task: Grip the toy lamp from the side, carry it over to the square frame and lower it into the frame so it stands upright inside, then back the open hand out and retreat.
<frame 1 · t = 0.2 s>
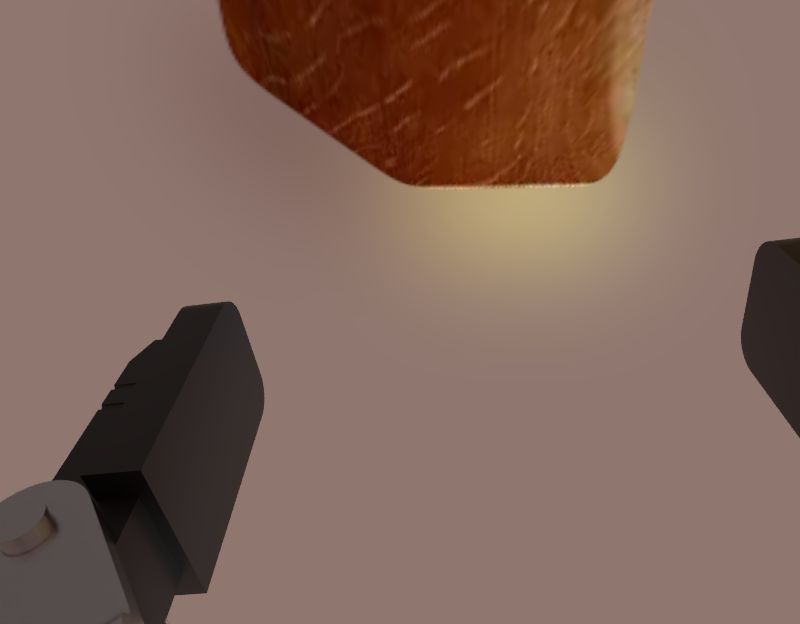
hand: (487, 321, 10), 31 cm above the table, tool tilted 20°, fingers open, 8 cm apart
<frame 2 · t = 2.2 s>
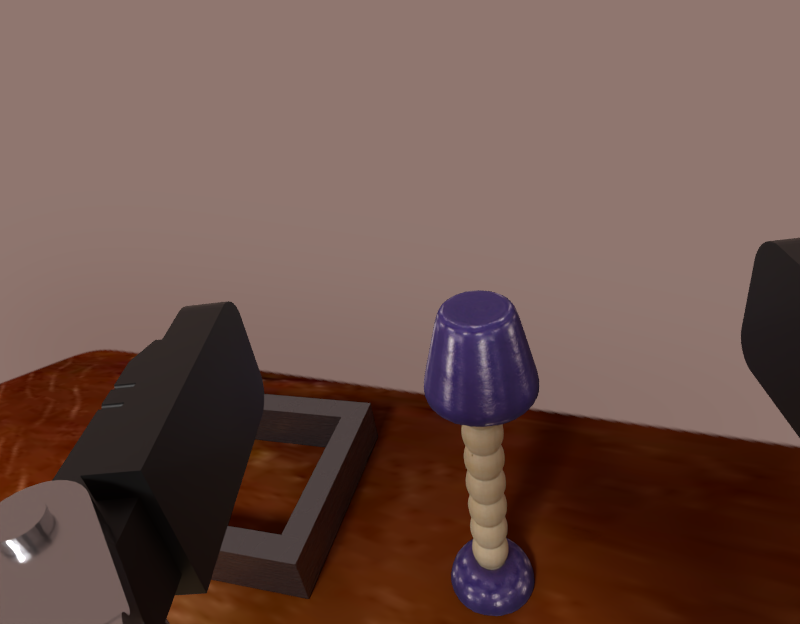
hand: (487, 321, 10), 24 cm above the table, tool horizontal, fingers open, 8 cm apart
square frame: (260, 494, 39), on the table
toy lamp: (498, 578, 32), on the table
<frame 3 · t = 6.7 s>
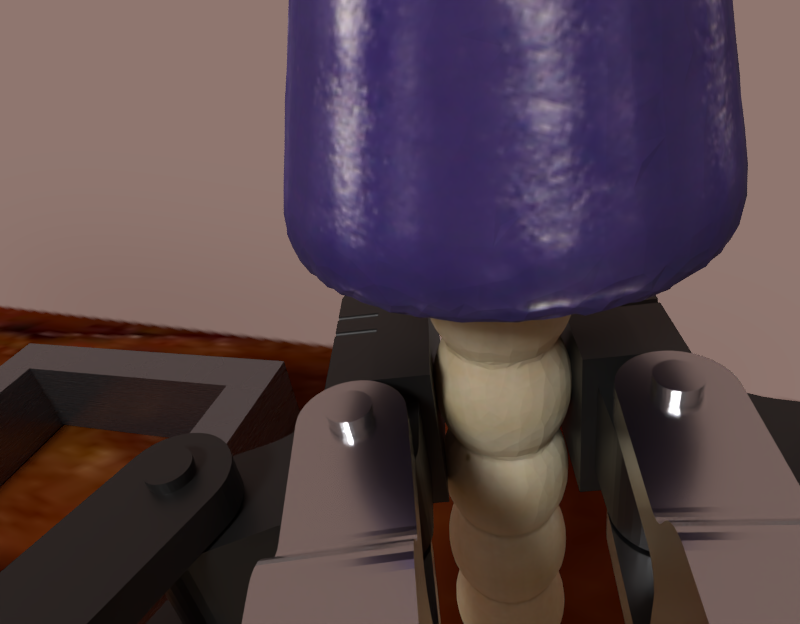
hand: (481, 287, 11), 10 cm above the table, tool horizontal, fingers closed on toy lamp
square frame: (71, 530, 21), on the table
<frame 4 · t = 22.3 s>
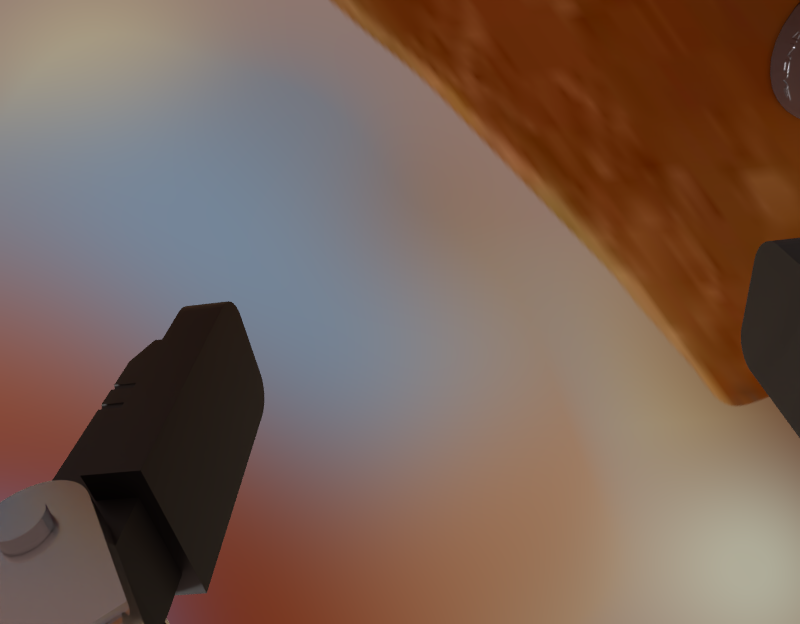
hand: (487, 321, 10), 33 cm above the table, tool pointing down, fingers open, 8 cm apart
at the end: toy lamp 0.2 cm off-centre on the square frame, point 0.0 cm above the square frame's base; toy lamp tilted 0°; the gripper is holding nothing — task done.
